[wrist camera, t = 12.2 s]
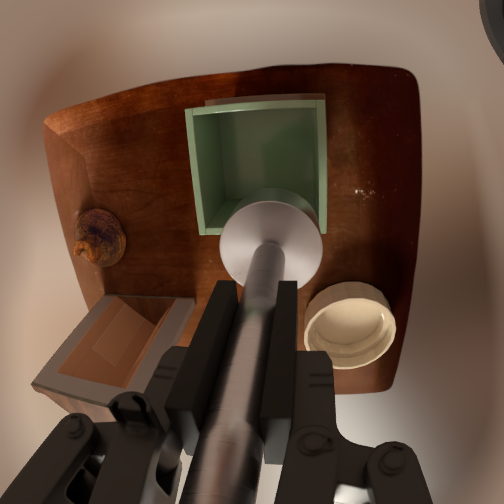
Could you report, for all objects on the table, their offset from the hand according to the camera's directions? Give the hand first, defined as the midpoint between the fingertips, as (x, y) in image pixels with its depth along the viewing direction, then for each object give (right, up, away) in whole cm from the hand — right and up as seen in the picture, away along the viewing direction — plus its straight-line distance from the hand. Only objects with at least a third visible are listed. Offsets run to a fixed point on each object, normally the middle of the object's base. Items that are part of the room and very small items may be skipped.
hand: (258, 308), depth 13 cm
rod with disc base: (+1, +4, +8) cm, 9 cm away
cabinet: (-21, -11, +50) cm, 55 cm away
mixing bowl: (+17, -10, +44) cm, 48 cm away
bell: (-29, +6, +44) cm, 53 cm away
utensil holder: (+3, +19, +32) cm, 37 cm away
